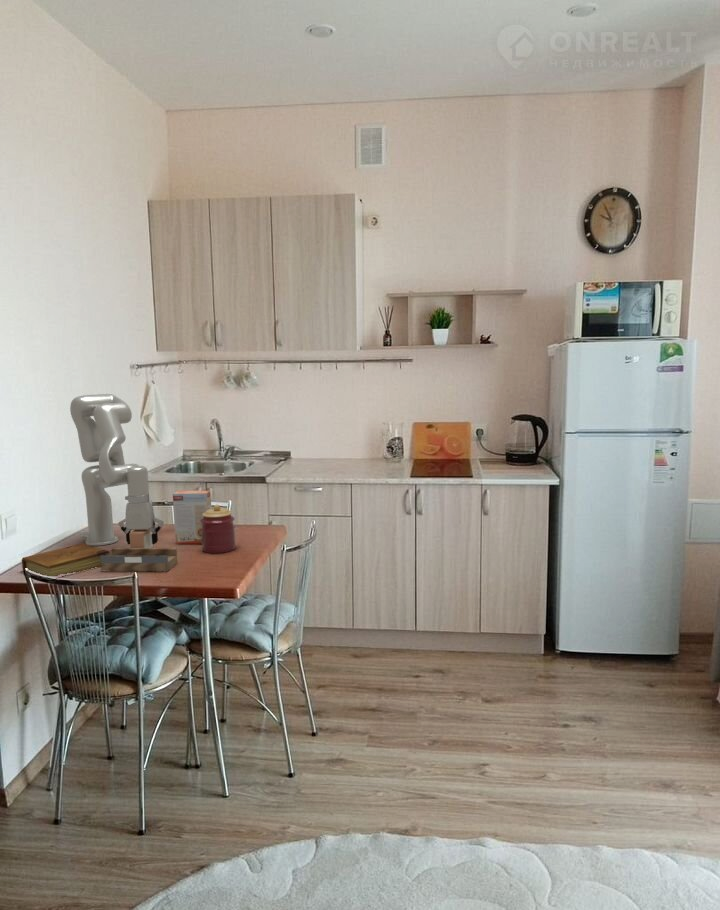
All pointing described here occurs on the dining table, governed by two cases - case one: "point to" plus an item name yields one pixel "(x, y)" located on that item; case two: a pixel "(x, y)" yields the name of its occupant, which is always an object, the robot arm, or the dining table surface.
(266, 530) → the dining table surface
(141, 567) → the wooden storage tray
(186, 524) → the cracker box
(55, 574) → the diary
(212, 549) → the canister
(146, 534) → the carton
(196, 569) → the dining table surface
